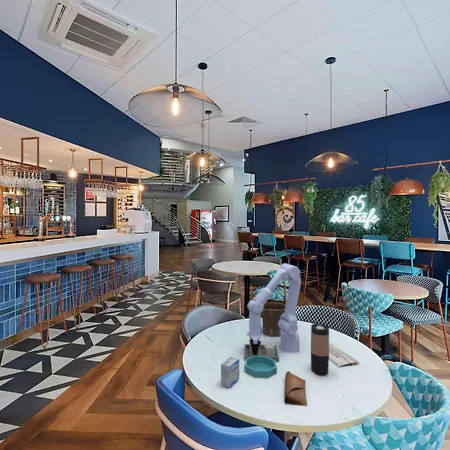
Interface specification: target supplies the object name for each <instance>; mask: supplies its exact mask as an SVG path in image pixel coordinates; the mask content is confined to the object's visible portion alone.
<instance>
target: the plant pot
mask: <svg viewBox="0 0 450 450" xmlns="http://www.w3.org/2000/svg"><path fill="white" fill-rule="evenodd" d="M285 306H286V304H284V303H281V302H266V303H265V304H264V306H263V311H262V312H261V324H262V333H263V335H266V336H267V337H271V338H273V337H274V338H275V337H276V338H278V337H280V336H281V331H280V328H279V326H278V322H279V320H280V318H281V315H282V314H283V313H284V312H285Z"/></svg>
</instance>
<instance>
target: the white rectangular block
mask: <svg viewBox="0 0 450 450" xmlns="http://www.w3.org/2000/svg"><path fill="white" fill-rule="evenodd" d="M249 344H250V343H249ZM250 356H260V346H259V349H258V354H257V355H253V353H252V347H251V344H250Z"/></svg>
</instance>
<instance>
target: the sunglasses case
mask: <svg viewBox="0 0 450 450" xmlns="http://www.w3.org/2000/svg"><path fill="white" fill-rule="evenodd" d="M284 377H285V378H284V403H285V404H286V405H292V406H298V407H299V406H301V407H308V401H307V395H306V380H305V379H303V378H302V377H299V376H297V375H296V374H294V373H292V372H291V371H290V370H287V371H286V372H285V375H284Z"/></svg>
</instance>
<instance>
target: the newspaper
mask: <svg viewBox="0 0 450 450" xmlns="http://www.w3.org/2000/svg"><path fill="white" fill-rule="evenodd" d="M329 362H331V363H333V364H334V365H335V366H336V367H337V368H339V367H341V366H344V365H349V364H350V363H351V364H350V365H352V366H357V365H359V363H360V361H358V360H357V359H355V357H352V356H351V355H349V354H348V353H346V352H344V351H343V350H341V349H339V348H338V347H337V346H335V345H334V344H333V343H331V342H329Z"/></svg>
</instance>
